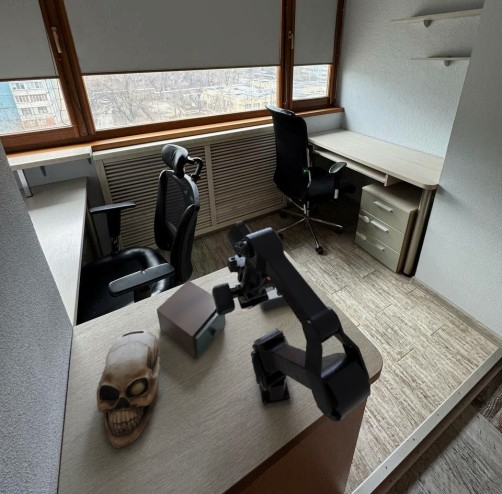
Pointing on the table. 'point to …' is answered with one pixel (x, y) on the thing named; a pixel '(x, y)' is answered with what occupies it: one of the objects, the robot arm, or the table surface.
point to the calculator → (273, 300)
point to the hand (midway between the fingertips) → (248, 307)
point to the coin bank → (129, 385)
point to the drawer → (208, 333)
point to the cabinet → (186, 315)
